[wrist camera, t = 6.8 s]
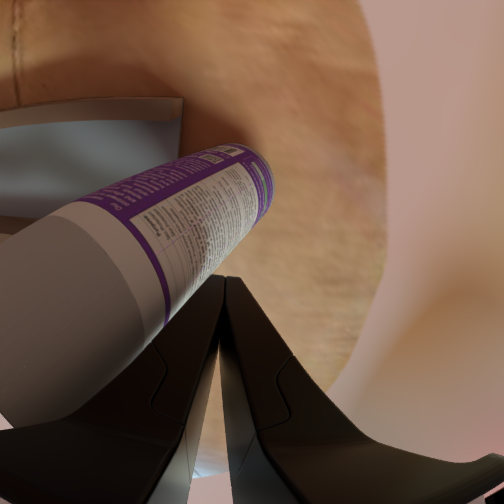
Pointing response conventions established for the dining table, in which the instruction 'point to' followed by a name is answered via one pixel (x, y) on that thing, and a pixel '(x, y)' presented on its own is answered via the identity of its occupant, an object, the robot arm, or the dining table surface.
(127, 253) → the container
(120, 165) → the cradle
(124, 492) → the robot arm
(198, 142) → the dining table surface
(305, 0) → the dining table surface
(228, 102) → the dining table surface
